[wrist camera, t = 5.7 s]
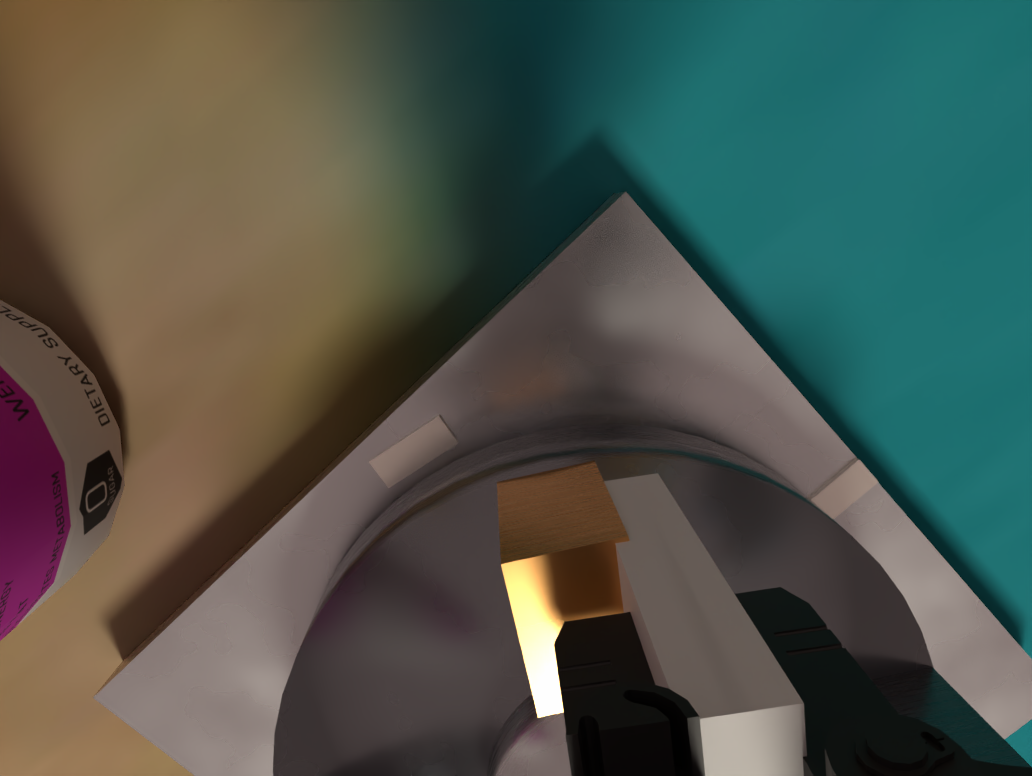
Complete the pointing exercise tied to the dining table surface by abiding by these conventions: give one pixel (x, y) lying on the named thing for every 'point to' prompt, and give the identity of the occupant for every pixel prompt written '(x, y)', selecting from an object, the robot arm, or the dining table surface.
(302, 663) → the domed lug disc
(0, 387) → the supplement can
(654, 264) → the flange
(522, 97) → the dining table surface
